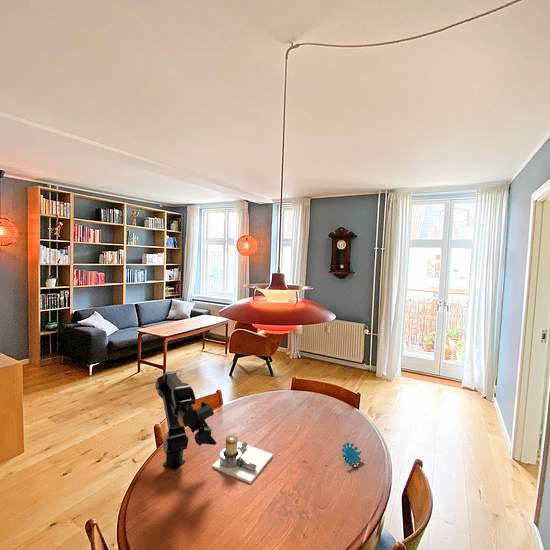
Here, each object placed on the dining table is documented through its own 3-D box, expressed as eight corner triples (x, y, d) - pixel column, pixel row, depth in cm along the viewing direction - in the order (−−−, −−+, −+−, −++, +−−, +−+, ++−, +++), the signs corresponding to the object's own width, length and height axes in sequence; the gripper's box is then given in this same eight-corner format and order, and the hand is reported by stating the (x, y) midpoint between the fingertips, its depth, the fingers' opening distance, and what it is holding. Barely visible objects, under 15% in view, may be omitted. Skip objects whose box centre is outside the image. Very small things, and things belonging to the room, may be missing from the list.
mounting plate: (250, 483, 123) (250, 481, 123) (212, 467, 131) (212, 465, 131) (273, 456, 141) (273, 454, 141) (237, 443, 149) (237, 441, 149)
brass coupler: (232, 466, 131) (233, 443, 131) (221, 462, 133) (223, 439, 133) (238, 460, 136) (240, 437, 135) (228, 456, 138) (230, 433, 137)
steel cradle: (249, 478, 126) (250, 468, 125) (215, 464, 133) (216, 455, 132) (268, 456, 140) (268, 447, 140) (236, 444, 147) (237, 436, 147)
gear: (348, 468, 134) (340, 442, 141) (339, 471, 138) (332, 446, 144) (367, 465, 140) (358, 440, 146) (358, 468, 143) (350, 444, 150)
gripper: (206, 410, 120) (233, 433, 125) (198, 390, 137) (222, 412, 142) (184, 433, 117) (212, 457, 122) (178, 410, 134) (203, 431, 139)
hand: (213, 437), depth 131 cm, fingers open, 9 cm apart
